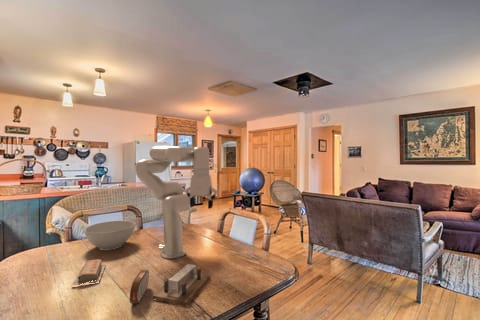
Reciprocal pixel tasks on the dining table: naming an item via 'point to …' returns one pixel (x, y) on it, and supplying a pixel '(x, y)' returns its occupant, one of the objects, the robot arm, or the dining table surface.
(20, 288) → the dining table surface
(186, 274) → the steel bar
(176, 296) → the peg stand
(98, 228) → the decorative bowl
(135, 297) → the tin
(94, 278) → the packaged product
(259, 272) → the dining table surface
